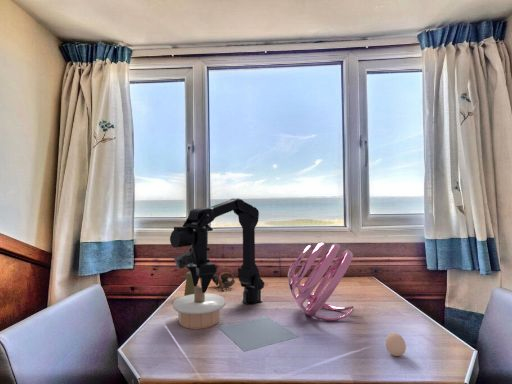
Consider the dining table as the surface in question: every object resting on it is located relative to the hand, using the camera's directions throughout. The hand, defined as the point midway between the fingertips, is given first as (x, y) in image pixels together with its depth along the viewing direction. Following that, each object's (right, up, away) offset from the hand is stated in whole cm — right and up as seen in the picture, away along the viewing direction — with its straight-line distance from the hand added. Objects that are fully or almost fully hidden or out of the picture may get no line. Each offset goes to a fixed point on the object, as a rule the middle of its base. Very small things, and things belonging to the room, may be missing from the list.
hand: (199, 289), depth 109 cm
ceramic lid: (0, -5, 0) cm, 5 cm away
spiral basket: (+44, -12, +7) cm, 46 cm away
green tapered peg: (-9, -12, +28) cm, 32 cm away
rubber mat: (+20, -11, -10) cm, 25 cm away
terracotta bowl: (0, -11, 0) cm, 11 cm away
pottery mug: (+4, -13, +43) cm, 45 cm away
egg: (+58, -11, -24) cm, 64 cm away
